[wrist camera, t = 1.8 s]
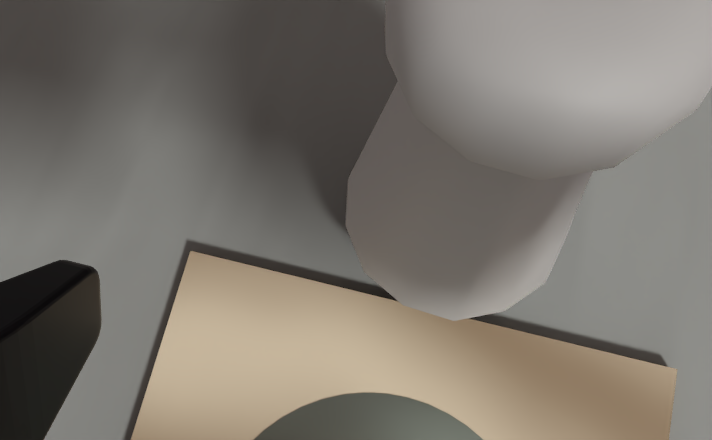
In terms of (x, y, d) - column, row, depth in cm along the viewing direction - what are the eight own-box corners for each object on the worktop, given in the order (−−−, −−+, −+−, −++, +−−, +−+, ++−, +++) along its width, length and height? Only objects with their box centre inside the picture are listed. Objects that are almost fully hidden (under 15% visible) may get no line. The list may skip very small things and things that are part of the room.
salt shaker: (576, 283, 19) (966, 77, 7) (394, 360, 19) (456, 289, 6) (490, 111, 21) (683, -323, 8) (318, 178, 20) (247, -175, 8)
